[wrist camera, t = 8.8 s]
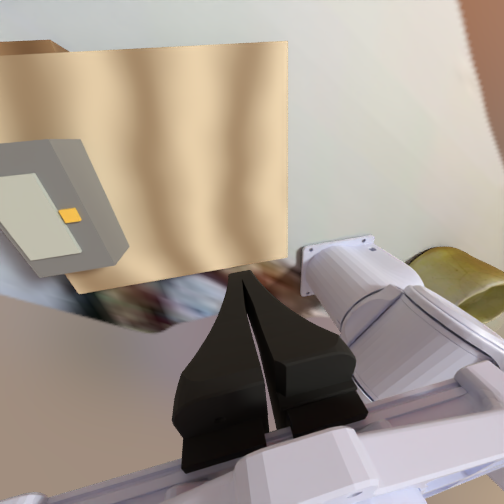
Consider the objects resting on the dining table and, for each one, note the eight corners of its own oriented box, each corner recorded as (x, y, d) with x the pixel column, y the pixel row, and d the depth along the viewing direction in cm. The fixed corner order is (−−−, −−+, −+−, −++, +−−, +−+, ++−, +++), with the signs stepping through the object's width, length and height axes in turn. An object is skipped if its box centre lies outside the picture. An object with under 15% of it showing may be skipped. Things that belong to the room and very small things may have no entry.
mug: (481, 223, 25) (569, 294, 19) (452, 263, 33) (508, 322, 27) (379, 256, 28) (427, 326, 22) (374, 285, 36) (409, 344, 30)
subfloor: (272, 42, 15) (287, 17, 12) (277, 249, 24) (287, 265, 21) (-32, 57, 13) (-106, 32, 10) (101, 279, 22) (84, 302, 19)
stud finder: (80, 139, 13) (44, 139, 10) (129, 246, 17) (113, 267, 14) (-6, 147, 12) (-69, 149, 10) (66, 256, 16) (36, 280, 14)
